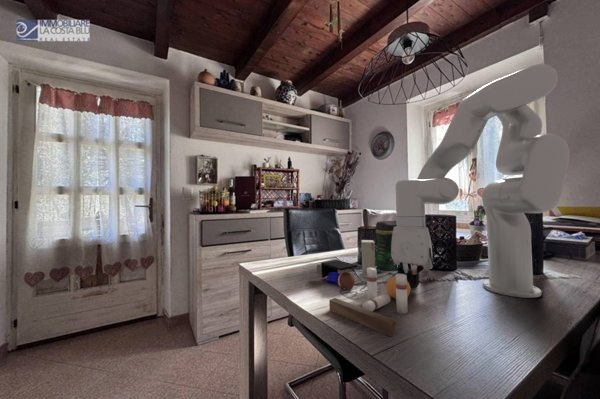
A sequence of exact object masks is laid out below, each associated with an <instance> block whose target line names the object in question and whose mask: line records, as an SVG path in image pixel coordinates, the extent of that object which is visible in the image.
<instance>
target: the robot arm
mask: <svg viewBox="0 0 600 399" xmlns="http://www.w3.org/2000/svg"><path fill="white" fill-rule="evenodd" d="M558 80H559V76H558V72H557V70H556V69H555V68H554V67H553V66H551V65H548V64H544V63H538V64H537V63H536V64H533V65H530V66H528V67H525V68H523V69H520V70H518V71H516V72H513V73H511V74H508V75H505V76H503V77H501V78H498V79H496V80H493V81H492V82H489V83H487V84H484V85H483V86H482V87H480V88H478V89H477V90H476V91H474V92H472V93H470V94H469V95H467V97H465V98H463V99H462V100H461V102H460V103H459V105H458V106H457V107H456V110H455V112H454V114H453V116H452V118H451V120H450V123H449V124H448V127H447V129H446V131H445V134H444V136H443V138H442V140H441V142H440V143H439V145H438V146H437V147H436V149H434V151H433V153H432V154H431V155H430V157H429V158H428V159H427V160H426V162H425V163H424V165H423V167H422V168H421V170H420V171H419V173H418V176H417V177H416V178H409V179H407V178H405V179H401V180H398V181H397V182H396V183H395V207H396V208H395V209H396V211H395V213H396V214H395V215H396V216H395V217H393V218H392V221H393V222H395V223H396V225H397V227H394V229H393V235H392V245H391V256H392V259H393V260H394V261H393V262H394V263H395V264H398V265H400V266H401V267H402V268H401V269H403V271H404V274H405V275H407V281H408V283H409V285H410V289H413V290H414V289H416V288H418V286H419V284H420V273H421V272H422V271H424V270H426V271H427V270H431V269H433V247H432V240H431V236H430V235H431V234H430V231H429V227H426V205H447V204H450V203H451V202H453V201H455V199H456V198H457V197H458V196H459V192H460V189H459V185H458V184H457V182H456V181H454V180H453V179H451V178H448V177H446V176H447V175H448V173H449V172H450V171H452V169H453V168H454V167H455V166H457V165H458V164H460V163H461V162H463V161H464V160H465V159H466V158H468V157H469V156H470V155H471V154H472V153H473V152H474V150H475V149H476V146H477V144H478V142H479V140H480V137H481V135H482V133H483V131H484V129H485V127H486V125H487V123H488V121H489V120H490V119H492V118H495V117H497V119H498V120H499V121H500V123H501V126H502V132H501V138H500V140H499V141H500V142H499V146H498V149H497V155H496V159H495V168H496V170H497V171H498V172H499V173H500V174H502V175H507V176H520V177H511V178H510V177H509V178H503V179H497V180H494V181H492V182H490V183H488V184H487V185H486V186H485V188H483V190H482V194H481V200H482V205H483V209H484V212H485V217H486V228H487V230H486V231H487V256H488V257H487V259H488V279H486V280H485V279H484V280H483V281H482V287H483V288H484V289H486V290H488V291H490V292H493V293H496V294H500V295H503V296H508V297H509V296H510V297H514V298H515V297H516V298H525V299H533V298H539V297H541V296H542V290H541V289H540V288H539V287H537V286H535V285H534V277H533V276H534V273H533V254H532V252H533V251H532V228H531V224H530V222H529V220H528V218H527V216H526V214H543V213H547V212H550V211H551V210H553V209H555V207H556V206H557V205H558V204H559V202H560V201H561V200H560V199H561V197H562V194H563V190H564V185H565V181H566V177H567V173H568V169H569V164H570V159H571V158H570V156H571V152H570V147H569V145H568V143H567V141H566V140H565V139H564V138H563V137H562V136H559V135H557V134H554V133H542V130H543V121H542V118H541V117H540V116H539V114H538V113H537V112H536V111H534V109H532V108H531V107H530V106H529V105H528V104H530V103H533V102H536V101H537V100H540V99H542V98H544V97H546V96H548V95H549V94H550V93H551V92H552V91H553V90H554V89H555V87H556V86H557V84H558ZM521 175H522V176H521Z"/></svg>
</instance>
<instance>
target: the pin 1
mask: <svg viewBox="0 0 600 399" xmlns="http://www.w3.org/2000/svg"><path fill="white" fill-rule="evenodd" d="M377 273H378V272H377V268H376V267H375V268H367V278H366V281H367V282H366V285H367V286H366V287H367V301H369V300H371V299H373V298H375V297H378V281H377V280H378V279H377V278H378V277H377V276H378V275H377Z"/></svg>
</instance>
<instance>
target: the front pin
mask: <svg viewBox="0 0 600 399" xmlns="http://www.w3.org/2000/svg"><path fill="white" fill-rule="evenodd" d="M390 302H391V296H390V295H389V293H382V294H380V295H377V297H375V298H373V299H371V300H369V301H368V300H366V301H365V302H362V305H361V308H364V309H367V310H369V311H372V312H375V311H376V310H378V309H379V308H382V307H384V306H385V305H388V304H389V303H390Z"/></svg>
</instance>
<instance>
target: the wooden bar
mask: <svg viewBox="0 0 600 399" xmlns="http://www.w3.org/2000/svg"><path fill="white" fill-rule="evenodd" d="M328 305H329V311H330V312H333V313H335V314H337V315H340V316H341V317H344V318H346V319H349V320H352V321H354V322H356V323H358V324H360V325H363V326H365V327H367V328H369V329H372V330H375V331H376V332H379V333H382V334H383V335H387V336H389V337H391V338H392V337H393V336H395V335H396V334H397V320H396V319H393V318H391V317H388V316H386V315H384V314H380V313H377V312H375V311H369V310H367V309H364V308H362V306H359V305H355V304H353V303H350V302H348V301H344V300H342V299H339V298H336V297H333V298H331V299H329V304H328Z"/></svg>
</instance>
